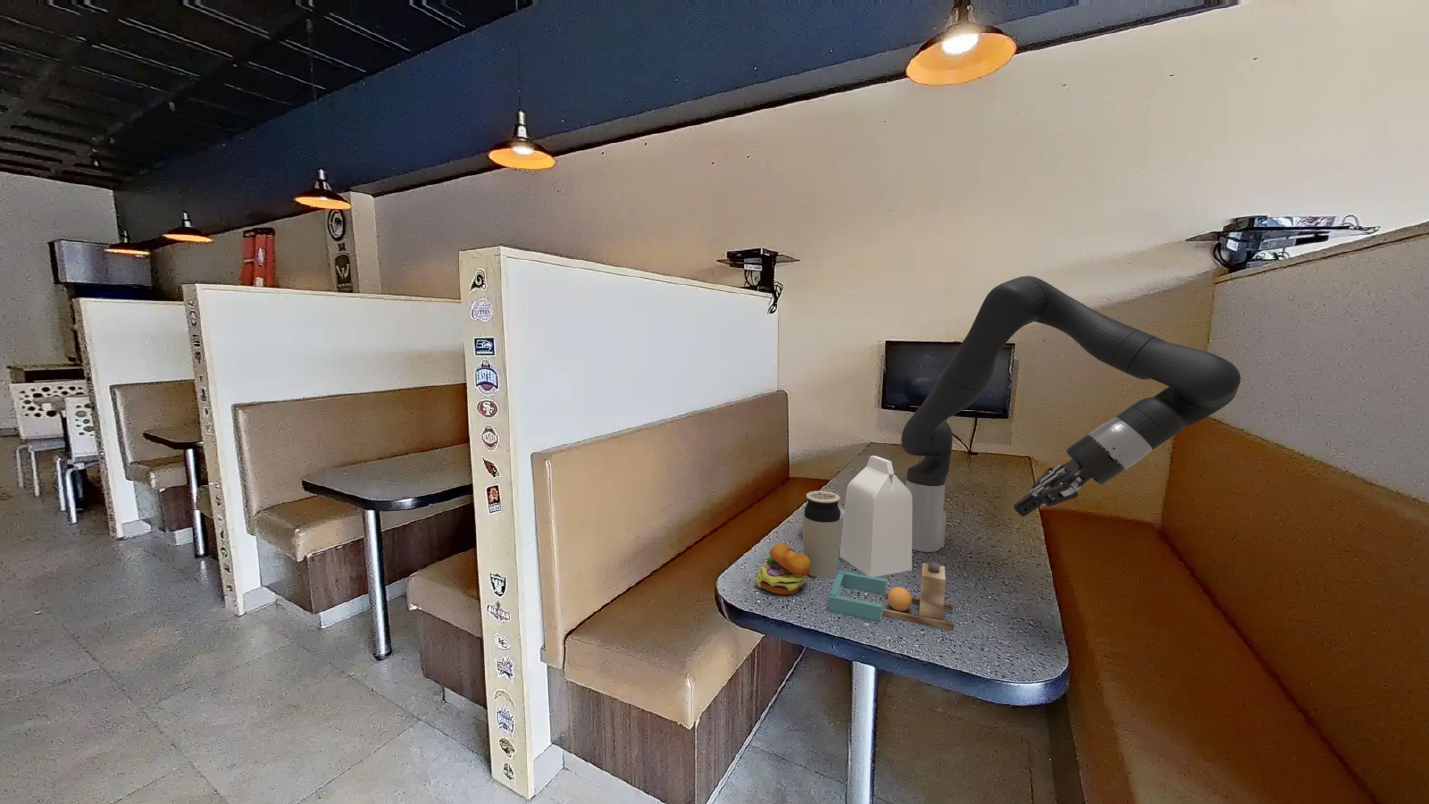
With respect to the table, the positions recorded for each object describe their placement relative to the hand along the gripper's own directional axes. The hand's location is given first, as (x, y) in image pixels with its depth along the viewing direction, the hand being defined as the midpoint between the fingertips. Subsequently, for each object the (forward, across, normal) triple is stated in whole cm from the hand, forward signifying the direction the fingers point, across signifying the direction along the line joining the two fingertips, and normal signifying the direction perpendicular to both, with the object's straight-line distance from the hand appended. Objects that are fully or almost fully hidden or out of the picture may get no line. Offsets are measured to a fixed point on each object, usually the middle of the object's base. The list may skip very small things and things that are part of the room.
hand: (1017, 511), depth 92 cm
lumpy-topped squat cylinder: (+45, -32, -12) cm, 56 cm away
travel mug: (+42, -12, -9) cm, 45 cm away
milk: (+34, -20, -1) cm, 40 cm away
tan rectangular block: (+25, 0, +7) cm, 26 cm away
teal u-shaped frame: (+35, 0, -2) cm, 35 cm away
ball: (+28, 0, +1) cm, 28 cm away
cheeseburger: (+47, -2, -14) cm, 49 cm away
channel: (+27, 0, +5) cm, 27 cm away
